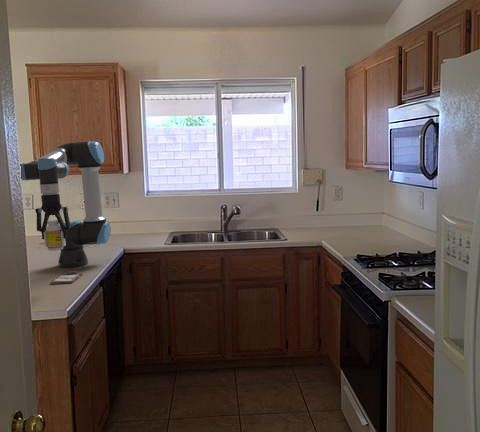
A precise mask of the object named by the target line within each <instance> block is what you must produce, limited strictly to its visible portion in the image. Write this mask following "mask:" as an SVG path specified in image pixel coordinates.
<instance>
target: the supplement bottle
mask: <svg viewBox="0 0 480 432" xmlns="http://www.w3.org/2000/svg"><path fill="white" fill-rule="evenodd" d="M47 222H48V223H47V227H46V231H45V232H46V236H47V247H46V248H47V250H48V251H51V252H52V251H55V252H56V251H61V249H63V248H64V246H62V240H61V231H62V228H61V226H59V225H60V224H59V222H58V220H57V219H50V220H49V219H48V221H47Z"/></svg>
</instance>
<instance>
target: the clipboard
mask: <svg viewBox="0 0 480 432" xmlns="http://www.w3.org/2000/svg"><path fill="white" fill-rule="evenodd" d="M82 276H83V273H82V272H81V273H78V271H77V270H76V271H75V270H74V271H66V272H64V273H63V274H60V275H58V276H57V277H56V278H55V279H53V280H51V281H50V283H49V285H50V286H51V285H52V286H54V285H64V284H65V285H68V284H69V285H70V284H74V283H75V282H76V281H77V280H78V279H80V277H82Z"/></svg>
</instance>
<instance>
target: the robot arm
mask: <svg viewBox="0 0 480 432" xmlns="http://www.w3.org/2000/svg"><path fill="white" fill-rule="evenodd" d="M104 162H105V153H104V150H103V147H102V145H101V143H99V142H98V141H77V142H76V141H75V142H67V143H64V144H61V145H59V146H56V147H54V148H52V149H51V150H49V153H46V154H45V155H42V156H41V157H38V158H36V159H34V160H32V161H30V162H28V163H27V162H26V163H24V162H23V163H19V164H20V166H21V179H22V180H21V181H36V180H37V181H38V180H39V189H40V194H41V196H40V197H41V207H37V208H35V209H34V211H35V213H36V231H37V232H40V233H41V239H42V240H44V248H48V247H47V236H46V228H47V227H48V222H47V221H49V219H50V216H55V218H56V220H58V222H59V226H61V228H62V231H61V240H62V246H64V248H63V249H61V250H60V253H59V257H58V264H57V265H58V267H59V268H63V269H64V268H65V269H66V268H75V267H76V268H77V267H82V266H86V265H88V263H89V259H88V256H87V255H86V252H85V250H84V246H89V245H105V244H107V243H108V241H109V240H110V237H111V231H112V230H111V229H112V228H111V223H110V222H108V221H107V218H106V216H104V215H103V206H102V196H101V195H102V194H101V186H100V185H101V184H100V183H101V182H100V175H99V171H100V169H101V168H102V164H104ZM69 166H77V170H79V171H80V172H81V181H82V190H83V191H82V193H83V200H84V202H83V203H84V212H85V218H83V220H82V221H81V220H79V219H78V220H72V221H70V216H69V206H63V205H62V204H61V198H60V197H61V195H60V185H59V179H64V178H66V177H67V176H68V175H69V173H70V167H69ZM60 211H62V214H63V218H62V215H61V212H60ZM42 212H44V217H43V221H42ZM82 222H83V223H82Z"/></svg>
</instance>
